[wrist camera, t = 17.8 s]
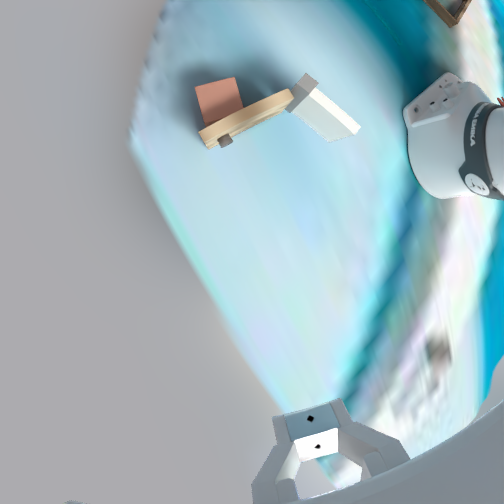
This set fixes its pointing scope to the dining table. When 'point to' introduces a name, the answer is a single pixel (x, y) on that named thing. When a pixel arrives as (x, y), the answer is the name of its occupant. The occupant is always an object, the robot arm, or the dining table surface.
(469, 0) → the frame
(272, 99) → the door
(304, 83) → the light grey slab
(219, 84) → the salmon pink block
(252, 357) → the dining table surface
